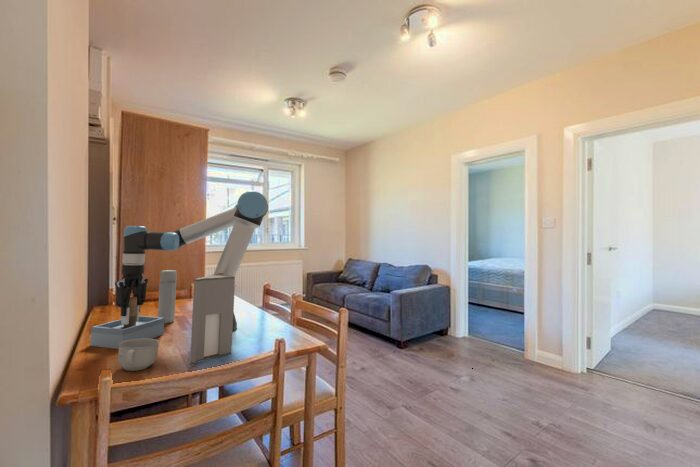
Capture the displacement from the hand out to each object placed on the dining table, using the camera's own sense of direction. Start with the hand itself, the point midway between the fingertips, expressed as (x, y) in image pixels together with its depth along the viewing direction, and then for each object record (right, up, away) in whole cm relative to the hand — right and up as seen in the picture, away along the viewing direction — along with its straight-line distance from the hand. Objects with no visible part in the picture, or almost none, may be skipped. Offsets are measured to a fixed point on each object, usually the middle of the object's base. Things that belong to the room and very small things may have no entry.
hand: (130, 322), depth 129 cm
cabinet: (+40, -8, -13) cm, 43 cm away
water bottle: (-2, -8, +29) cm, 30 cm away
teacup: (+21, -7, -28) cm, 36 cm away
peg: (0, -4, 0) cm, 4 cm away
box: (0, -7, 0) cm, 7 cm away
